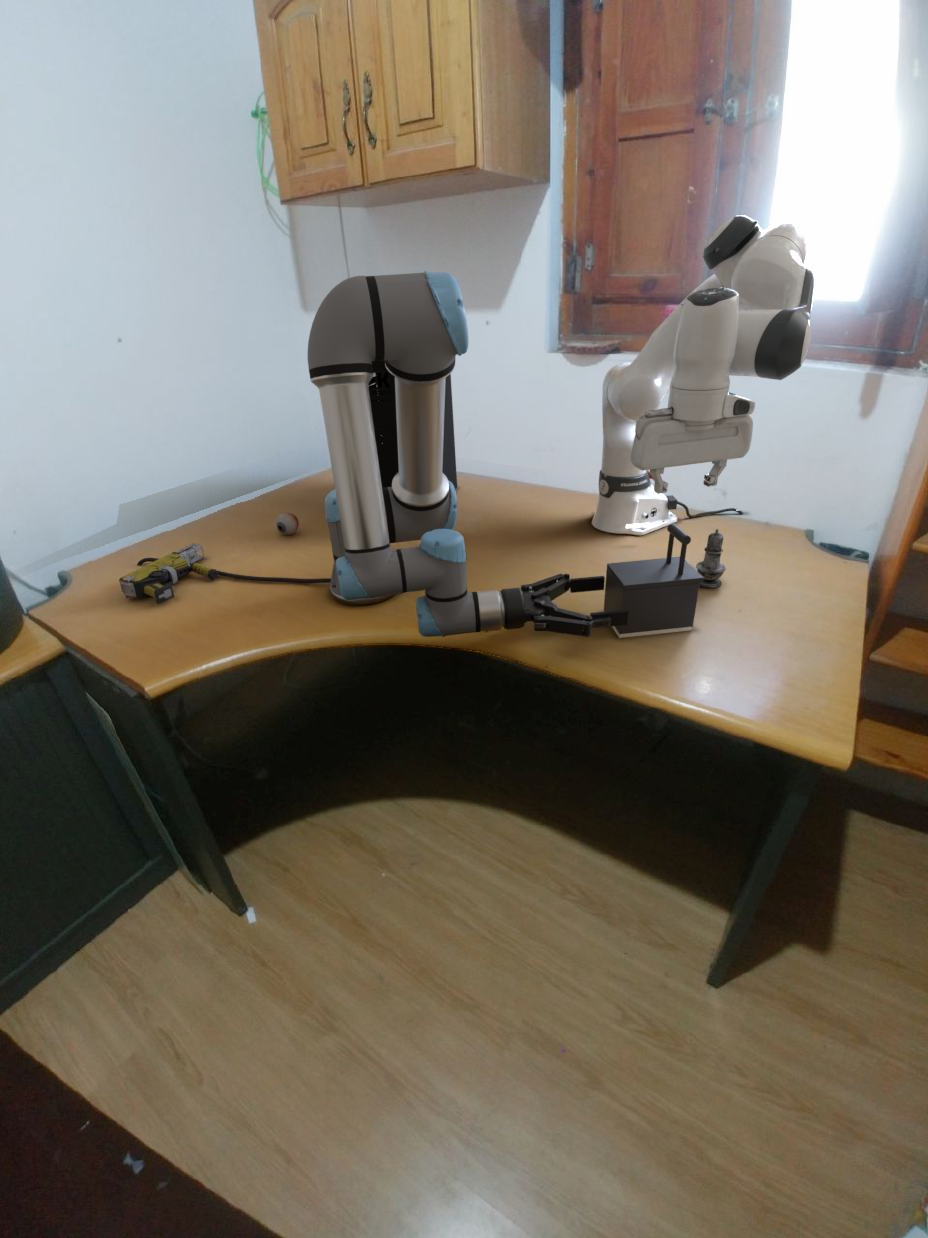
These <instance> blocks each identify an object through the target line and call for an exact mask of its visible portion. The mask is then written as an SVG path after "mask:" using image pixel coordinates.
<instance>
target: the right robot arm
mask: <svg viewBox="0 0 928 1238" xmlns="http://www.w3.org/2000/svg"><path fill="white" fill-rule="evenodd" d="M810 248H811V239H810V234H809V233H808V231H807V229H806V228H805V227H804V225H802V224H801V223H800V222H796V221H792V220H783V221H779V222H777V223H774V224H772V225H770V226H769V227H768V228H766V229H764V230H763V229H762V227H760V224H759V221H758V220H757V219H752V218H751V217H749V216H747V215H744V214H743V215H741V214H740V215H735V216H734V217H732V218H730V219H728V220H726V221H724V222H723V223H721V224H720V225H718V227H717V228H716V229H715V230H714V231H713V232H712V234H711V236H710V237H709V239H708V241H707V243H706V246H705V247H704V249H703V253H702V258H703V260H704V263H705V264H706V266H707V268H708V270H709V271H712V272H713V274H712V275H711V276H709V277H708V278H706V279H705V280H704V281H703V282H702V283H700V284H699V285H698V286H696V287H695V289H694V290H692V291H691V292H689V294H688V295H687V296H686V297H685V298H684V299H682V301H681V302H680V303H679V304H678V305H677V306H676V307H675V309H673V310H672V312H671V313H670V314H669V315H667V316H666V318H665V319H664V320H663V321H662V322H660V324H659V325H658V326H657V328H655V330H654V331H653V332H652V333H651V335H650V336H649V339H648V340H647V341H646V343H645V345H644V346H643V347H642V349H641V350H640V352H639V353H638V355H637V356H636V357H635V359H634V360H633V361H632V362H629V361H626V362H621V363H618V364H616V365H613V366H612V367H611V368H610V369H608V371H607V372H606V374H605V375H604V378H603V380H602V395H601V396H602V401H601V403H602V405H601V407H602V408H601V409H602V410H601V411H602V412H601V413H602V453H601V468H600V470H599V474H598V492H599V493H598V498H597V502H596V507H595V511H594V514H593V517H592V520H591V525H592V526H593V527H594V528H595V529H597V530H599V531H601V532H605V533H611V534H623V535H625V534H626V535H632V536H633V535H634V536H645V535H646V534H650V533H652V532H654V531H657V530H660V529H662V528H665V527H668V526H669V525H670V524H676V523H677V522H678V516H677V515H676V514H675V513H674V512H672V511H673V510H677V508H678V505H679V506H680V507H682V508H684V510H685V514H686V516H687V517H688V518H690V519H695V518H698V517H702V516H708V515H715V514H716V515H717V514H722V513H726V512H727V513H728V512H735V513H738V514H739V515H744V514H745V513H744V512H743V511H742V510H740V509H739V510H740V511H736V509H737V508H736V509H735V507H729V508H724V509H723V508H722V509H719V510H711V511H704V512H699V513H696V514H691V513H690V510H689V507H688V505H686V504H685V503H683V502H681V501H678V499H677V498H676V497H675V496H674V495H672V494H671V495H665V494H664V493H667V492H668V487H669V482H668V481H665V480H663V478H662V475H664V473H665V469H666V468H667V469H668V468H674V467H682V466H689V465H696V464H704V463H711V464H712V467H711V468H710V471H709V473H706V474H704V476H703V486H706V487H708V488H709V487H716V486H717V485H718V479H719V477H720V475H721V474H722V472H723V471H724V469H726V467H727V463H728V460H736V459H742V458H744V457H746V455H747V454H748V453H749V451H750V448H751V443H752V437H753V431H754V421H753V420H754V419H753V417H752V416H751V415H752V414H753V413H754V412H755V408H756V402H755V401H754V400H752V399H750V398H747V397H744V396H740V395H737V394H736V393H732V392H729V391H730V384H731V380H730V377H731V376H734V377H756V378H761V379H768V380H776V381H782V380H784V379H786V378H787V377H789V376H791V375H792V374H794V373H795V372H797V371H798V370H799V369H800V368H802V366H803V363H804V362H805V360H806V358H807V356H808V353H809V349H810V346H811V340H812V327H811V323H810V322H811V321H810V320H811V317H812V310H813V302H814V299H815V298H814V297H815V284H816V279H815V273H814V271H813V270H812V269H811V268H810V267H808V266H806V265H807V261H808V258H809V254H810ZM667 394H668V400H667V407H663V408H660V406H661V403H662V400H663V399H664V397H666V396H667ZM651 480H653V481H654V485H652V483H651ZM671 510H672V511H671Z"/></svg>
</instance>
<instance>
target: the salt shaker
mask: <svg viewBox="0 0 928 1238" xmlns="http://www.w3.org/2000/svg"><path fill="white" fill-rule="evenodd" d="M723 543H724V536H723V534H722V533H720V532H719V528H716V529H715V530H714V532H711V533H710V534H709V535H708V536H707V543H706V547H704V549H703V550H704V551H705V552H704V557H703V558H704V559H703V560H701V561H699V562H697V563H696V564H695V568H696V571H697V572H698V573H699V574H701V575H702V576H703V577H704V580H703V582H702V583H700V585H699V587H702V588H703V587H704V588H713V589H714V588H718V587H720V586H722V585H723V583H722V581H721V580H720V578H721V577H722V576H723V575H724V572H726V570H727V568H726V565H724V564H723V563H721V557H722V553H724V550H723Z"/></svg>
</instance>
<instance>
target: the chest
mask: <svg viewBox="0 0 928 1238" xmlns="http://www.w3.org/2000/svg"><path fill="white" fill-rule="evenodd" d="M699 592H700V583H692V584H682V585H672V586H662V587H652V588H642V589H632V590H623V589H622V587H621V586H620V585H619V583H618V582H617V581H616V579H615V578H614V577H613V576H612V574H611V573H610V572H609V570H608V569H607V568H606V574H605V584H604V599H603V610H602V612H605V611H616V610H626V609H627V610H628V611H629V612H628V622H627V625H620V626H611V628H612V629H613V631H614V632H615V634H616V635H617V637H618V639H622V638H632V637H641V636H650V635H659V634H668V633H670V634H671V633H679V632H688V631H693V628H694V622H695V614H696V610H697V603H698V597H699Z"/></svg>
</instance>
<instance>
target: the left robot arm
mask: <svg viewBox="0 0 928 1238" xmlns="http://www.w3.org/2000/svg"><path fill="white" fill-rule="evenodd" d="M313 318H314V319H313V321H312V323H311V327H310V331H309V337H308V343H307V367H308V373H309V379H310V383H312V384H313V385H314V386H315V387H317V389H318V393H319V398H320V404H321V410H322V417H323V424H324V429H325V435H326V441H327V447H328V454H329V460H330V466H331V471H332V472H331V473H332V477H333V483H334V489H333V490H331V491H330V492H329V493H328V494H327V495H326V497H325V499H324V509H325V518H324V519H325V521H326V522H327V528H328V534H329V539H330V546H331V552H332V557H333V566H332V571H331V577H329V578H326V577H325V578H324V577H321V578H299V577H297V578H295V577H278V576H277V577H275V576H274V577H273V576H254V575H243V574H236V573H232V572H225V571H221V570H217V571H218V576H221V577H226V578H230V579H231V578H232V579H237V580H244V581H253V582H254V581H255V582H269V583H270V582H272V583H273V582H274V583H296V584H329V590H330V596H331V598H332V599H333V600H334V601H336V602H337V603H340V604H342V605H347V606H357V607H359V606H370V605H375V604H379V603H382V602H385V601H387V600H389V599H391V598H393V597H394V596H396V595H397V594H404V593H405V594H406V593H411V592H412V593H413V592H419V591H424V592H425V595H422V596H418V597H417V598H416V600H415V608H416V618H417V619H416V620H417V628H418V633H419V635H420V636H421V637H425V638H429V637H430V638H431V637H432V638H434V637H442V638H445V637H448V636H454V635H455V636H456V635H465V634H474V633H488V632H496V631H501V630H502V628H503V629H504V630H506V631H509V630H518V629H519V630H520V629H524V628H525V626H526V623H528V622H529V623H533V631H534V632H537V633H538V632H551V633H557V634H563V635H569V636H570V635H571V636H578V637H585V638H590V637H591V636H592V630H593V629H603V628H609V627H612V626H620V625H627V622H628V612H629V611H628V610H627V609H626V610H616V611H605V612H603V611H596V612H590V613H589V614H590V615H587V614H583V613H580V612H576V611H572V610H569V609H565V608H561V607H559V606H558V604H556V603H554V602H553V601H554V600H556V599H557V598H559V597H560V596H562V595H564V594H565V593H567V592H570V593H571V594H576V593H585V592H596V591H605V583H606V576H604V575H596V576H586V577H574V578H571V575H570V574H569V573H558V574H555V575H552V576H549V577H546V578H544V579H540V580H538V581H535V582H531V583H527V584H522V585H520V588H519V587H510V588H502V589H501V590H500V591H499V590H498V589H488V590H478V591H477V590H476V591H468V574H467V570H468V569H467V560H468V558H467V554H466V545H465V539H464V536H463V535H462V534H461V533H460V532H459V531H457V530H454V529H455V527H456V524H457V518H458V509H457V506H458V497H457V493H456V489H455V488H454V485H453V484H452V482H450V481H448V479H447V477H446V476H445V475H444V474H443V473H442V464H443V436H444V407H445V378H446V377H447V376H448V375H450V374H452V373H453V372H454V370H455V367H456V358H457V357H456V356H459V357H461V356H463V355H465V354H466V353H468V349H469V329H468V328H469V327H468V320H467V314H466V308H465V303H464V299H463V295H462V292H461V288H460V285H459V282H458V280H457V279H456V277H454V275H452V274H451V273H449V272H445V271H443V272H441V271H440V272H438V271H437V272H429V271H427V270H424V271H423V272H413V273H395V274H382V275H381V274H378V275H355V276H351V277H349V278H346V279H344V280H341V281H340V282H339V283H338V284H336V285H335V286H334V287H333V288H332V289H330V290H329V292H328V293H327V294H326V296H325V297H324V298H323V300H322V301H321V303H320V305H319V306H318V308H317V311H316V313H315V315H314V317H313ZM372 361H385V366H386V368H387V370H388V371H389V372H390V373H391V374H392V375H394V376H395V394H396V417H397V441H398V464H399V472H398V473H397V474H396V475H395V476H394V478H393V481H392V487H387V488H382V484H381V476H380V469H379V462H378V454H377V447H376V440H375V432H374V425H373V418H372V410H371V403H370V396H369V389H368V387H369V386H368V383H369V382H370V380H371V379H372V377H374V375H373V369H372ZM414 541H420V543H419V545H418V546H413V547H406V548H396V549H391V544H397V543H403V542H404V543H405V542H414ZM158 559H159V558H157V557H145V558H142V559H140V560H139V561H138V562H137V563H136V566H138V567H140V566H142V565H143V564H145V563H148V562H149V563H152V562H154V561H156V560H158ZM193 564H194V563H193ZM193 564H189V565H190V566H192V565H193Z"/></svg>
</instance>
